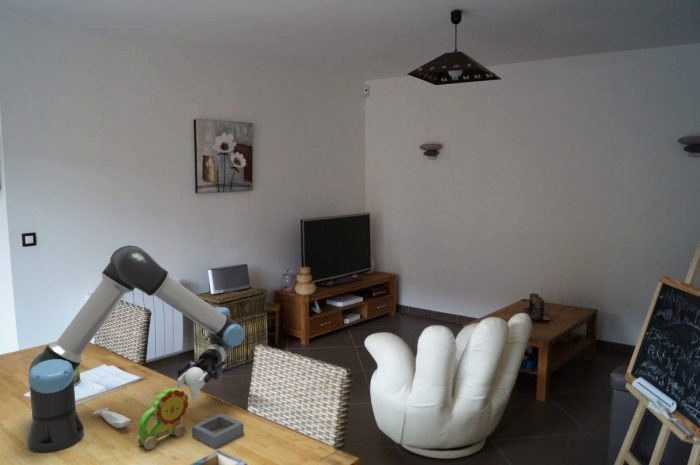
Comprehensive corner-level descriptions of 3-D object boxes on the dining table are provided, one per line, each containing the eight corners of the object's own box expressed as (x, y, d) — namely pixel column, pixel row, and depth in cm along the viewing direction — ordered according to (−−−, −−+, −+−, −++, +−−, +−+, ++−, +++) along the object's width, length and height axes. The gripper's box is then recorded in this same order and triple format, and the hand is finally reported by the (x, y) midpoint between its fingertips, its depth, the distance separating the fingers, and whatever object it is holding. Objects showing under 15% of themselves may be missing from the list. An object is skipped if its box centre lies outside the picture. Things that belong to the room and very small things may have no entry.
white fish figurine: (119, 435, 166) (118, 423, 166) (92, 419, 178) (91, 407, 177) (135, 428, 170) (134, 416, 170) (108, 413, 182) (108, 402, 181)
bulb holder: (214, 448, 158) (214, 437, 158) (192, 437, 165) (191, 426, 165) (243, 434, 167) (243, 423, 167) (221, 423, 174) (220, 413, 173)
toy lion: (146, 452, 157) (143, 403, 155) (136, 446, 160) (133, 397, 158) (192, 431, 169) (191, 385, 167) (182, 426, 172) (180, 381, 170)
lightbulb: (207, 396, 178) (206, 364, 177) (200, 404, 172) (199, 371, 171) (190, 395, 179) (188, 363, 177) (182, 403, 173) (181, 370, 171)
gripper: (238, 369, 192) (219, 396, 169) (186, 367, 193) (160, 394, 170) (238, 348, 191) (218, 373, 168) (185, 347, 192) (159, 371, 169)
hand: (189, 384), depth 169 cm, fingers closed on lightbulb, 6 cm apart
